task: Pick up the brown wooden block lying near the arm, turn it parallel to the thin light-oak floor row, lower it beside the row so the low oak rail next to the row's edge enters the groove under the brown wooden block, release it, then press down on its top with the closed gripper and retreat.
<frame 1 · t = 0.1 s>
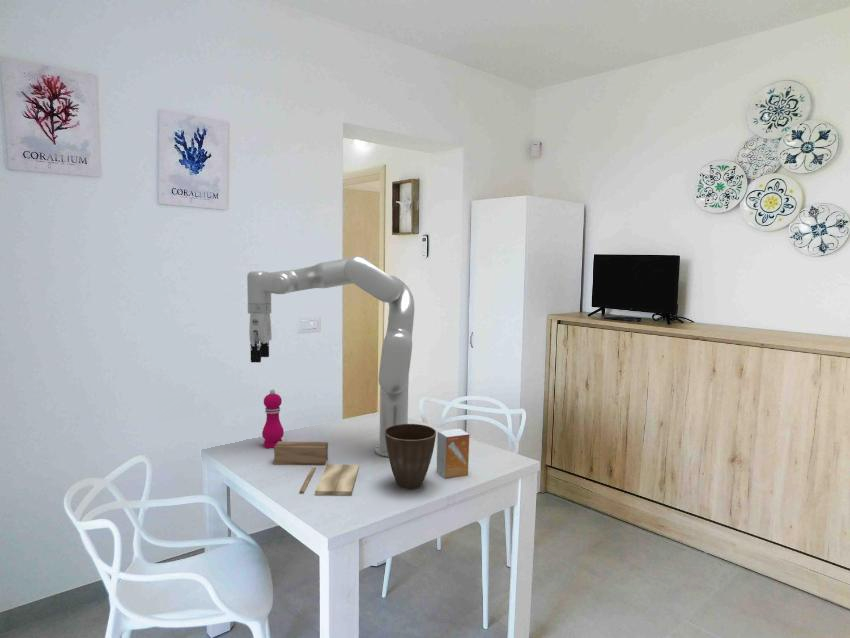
hand: (260, 359, 184), 31 cm above the table, tool pointing down, fingers open, 9 cm apart
pepper mill: (273, 446, 192), on the table
board: (338, 480, 162), on the table
small box: (452, 474, 170), on the table
plant pot: (409, 485, 161), on the table
brown wooden block: (301, 462, 177), on the table
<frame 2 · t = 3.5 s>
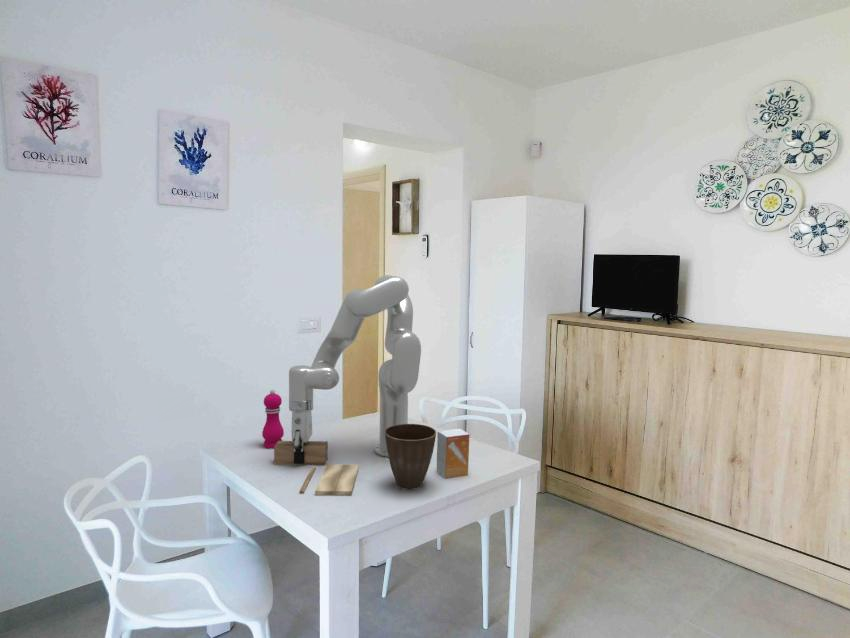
hand: (301, 459, 177), 1 cm above the table, tool pointing down, fingers closed on brown wooden block, 5 cm apart
brown wooden block: (301, 462, 177), on the table, touching gripper
everything else where it was.
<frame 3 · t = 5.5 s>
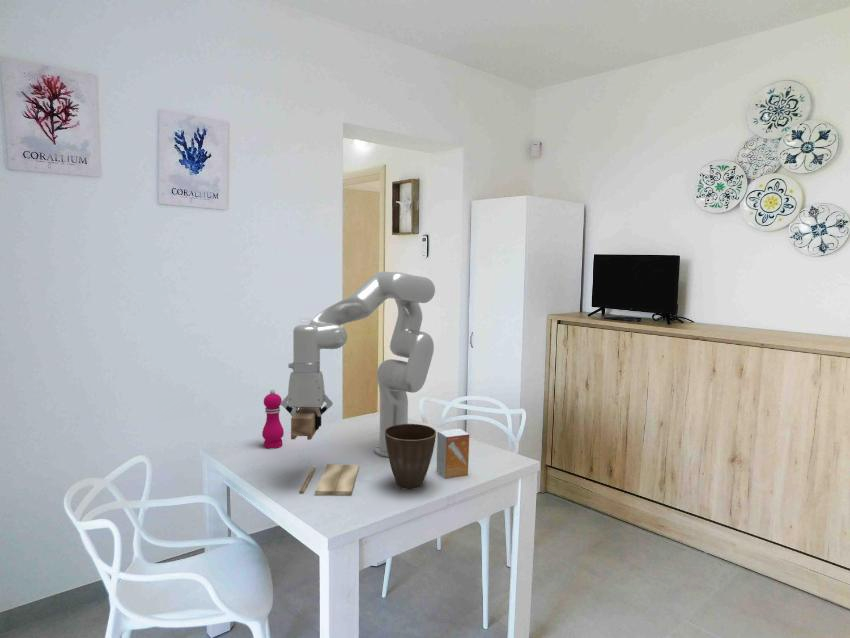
hand: (306, 427, 162), 16 cm above the table, tool pointing down, fingers closed on brown wooden block, 5 cm apart
brown wooden block: (306, 430, 162), point 15 cm above the table, touching gripper
everything else where it was.
when the fingers open (2 cm above the table, at t = 7.8 s): brown wooden block drops 1 cm, resting in board.
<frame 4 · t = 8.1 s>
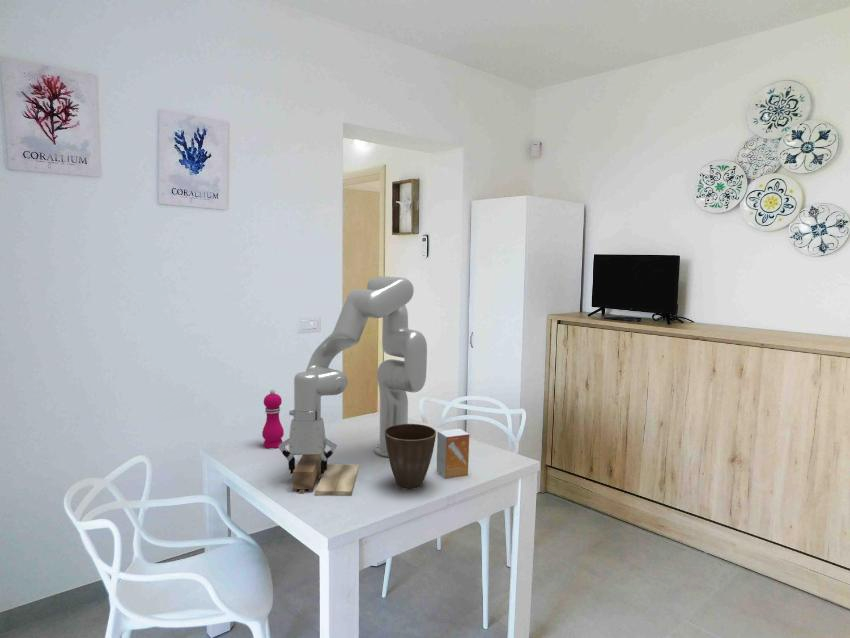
hand: (307, 472, 162), 3 cm above the table, tool pointing down, fingers open, 8 cm apart
brown wooden block: (308, 481, 162), resting in board
everything else where it was.
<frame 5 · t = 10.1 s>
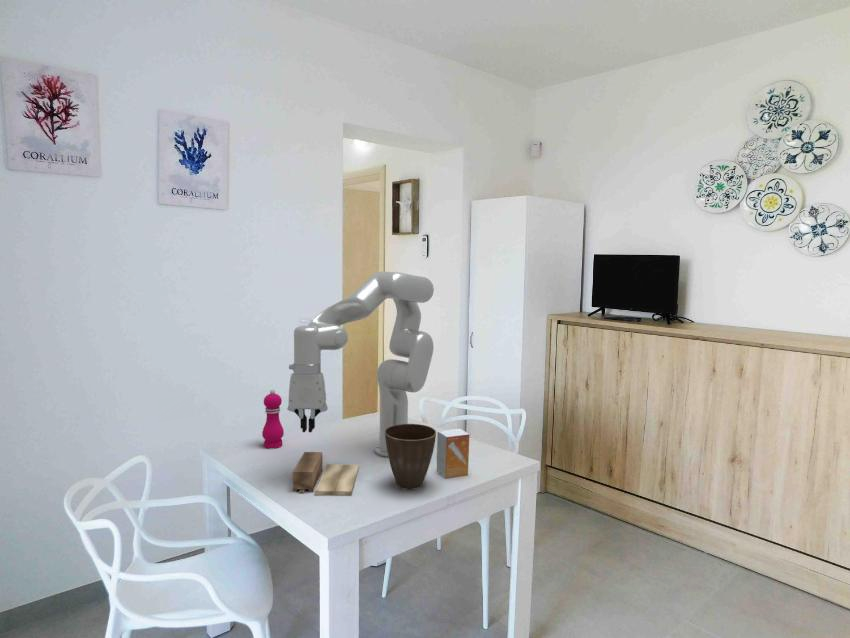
hand: (307, 430, 161), 15 cm above the table, tool pointing down, fingers closed
nothing on the table moved.
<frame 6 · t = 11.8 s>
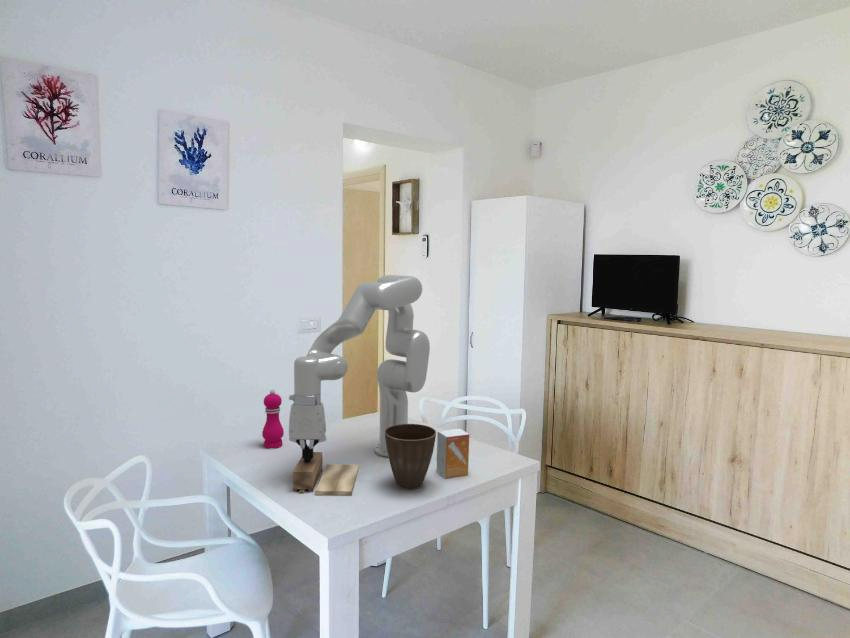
hand: (307, 460, 162), 6 cm above the table, tool pointing down, fingers closed
nothing on the table moved.
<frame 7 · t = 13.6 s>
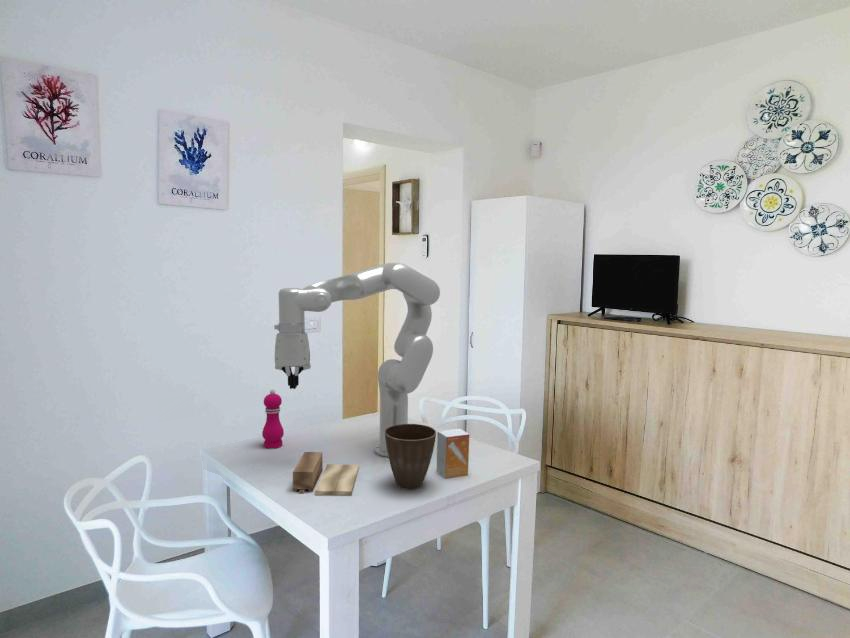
hand: (293, 387, 169), 25 cm above the table, tool pointing down, fingers closed
nothing on the table moved.
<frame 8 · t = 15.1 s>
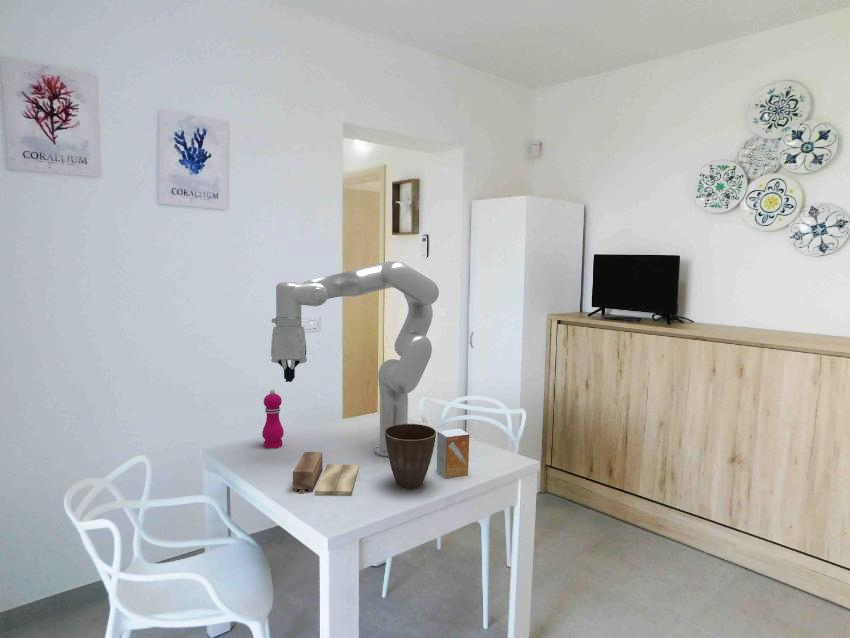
hand: (289, 380, 171), 27 cm above the table, tool pointing down, fingers closed
nothing on the table moved.
at the end: brown wooden block 0.1 cm from the target spot on the board, point 0.0 cm above the board's base; brown wooden block tilted 0°; the gripper is holding nothing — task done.
